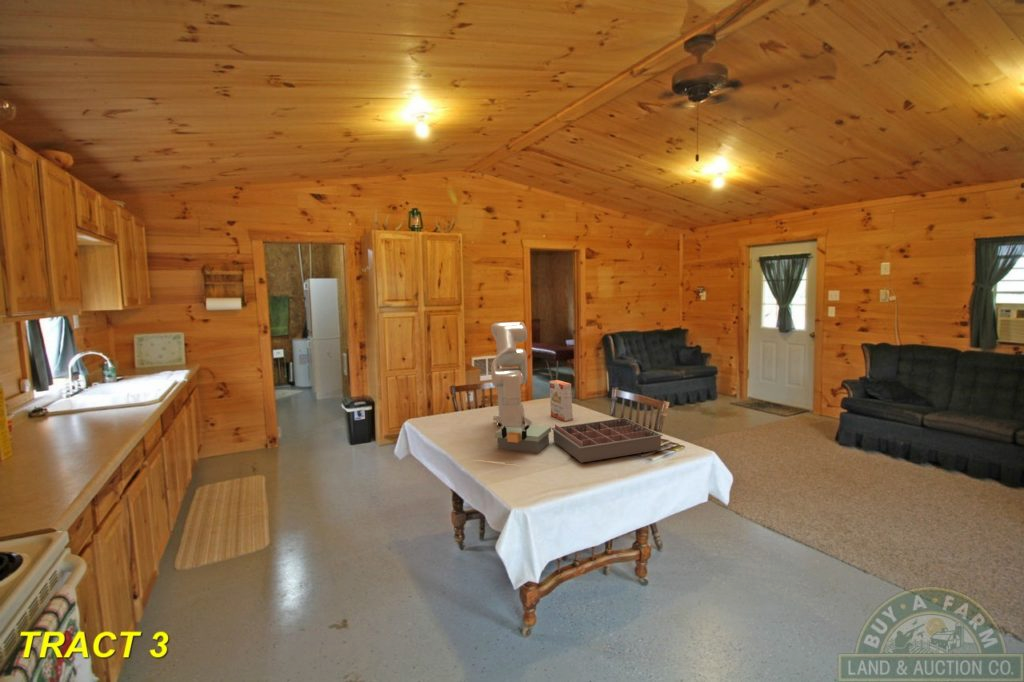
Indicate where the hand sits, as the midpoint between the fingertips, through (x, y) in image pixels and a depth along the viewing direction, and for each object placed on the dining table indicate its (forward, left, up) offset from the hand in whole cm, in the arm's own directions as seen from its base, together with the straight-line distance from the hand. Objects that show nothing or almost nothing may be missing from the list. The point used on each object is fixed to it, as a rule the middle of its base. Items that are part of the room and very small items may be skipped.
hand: (514, 438), depth 224 cm
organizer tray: (+36, +21, -8) cm, 42 cm away
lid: (0, +8, -1) cm, 8 cm away
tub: (0, +10, -8) cm, 13 cm away
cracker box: (0, +63, -8) cm, 63 cm away
